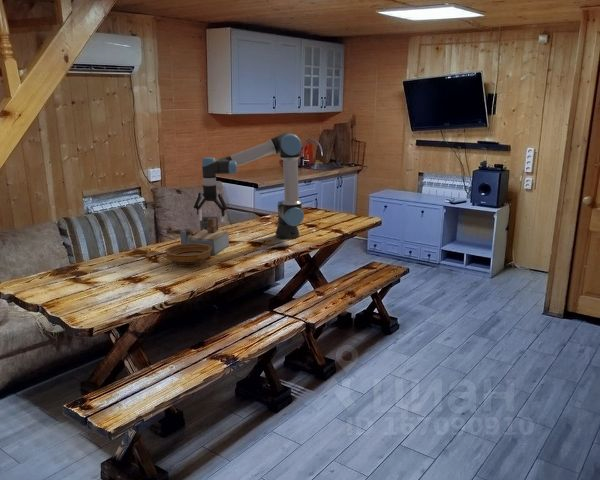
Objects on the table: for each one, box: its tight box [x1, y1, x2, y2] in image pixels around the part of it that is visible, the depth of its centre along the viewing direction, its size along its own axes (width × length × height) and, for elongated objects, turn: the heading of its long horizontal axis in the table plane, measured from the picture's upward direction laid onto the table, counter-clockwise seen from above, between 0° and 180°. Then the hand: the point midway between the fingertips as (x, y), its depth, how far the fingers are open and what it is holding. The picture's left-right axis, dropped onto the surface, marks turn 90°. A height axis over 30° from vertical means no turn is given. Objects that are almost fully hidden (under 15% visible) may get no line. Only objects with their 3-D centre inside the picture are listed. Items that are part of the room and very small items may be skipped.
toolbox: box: [179, 227, 230, 256], centre depth 310 cm, size 22×20×12 cm
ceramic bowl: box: [163, 243, 213, 267], centre depth 284 cm, size 30×24×8 cm
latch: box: [166, 227, 194, 236], centre depth 309 cm, size 15×3×3 cm, turn 74°
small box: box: [199, 216, 219, 231], centre depth 349 cm, size 11×6×10 cm, turn 84°
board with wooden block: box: [189, 218, 228, 241], centre depth 308 cm, size 15×19×9 cm
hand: (211, 221), depth 312 cm, fingers open, 13 cm apart
